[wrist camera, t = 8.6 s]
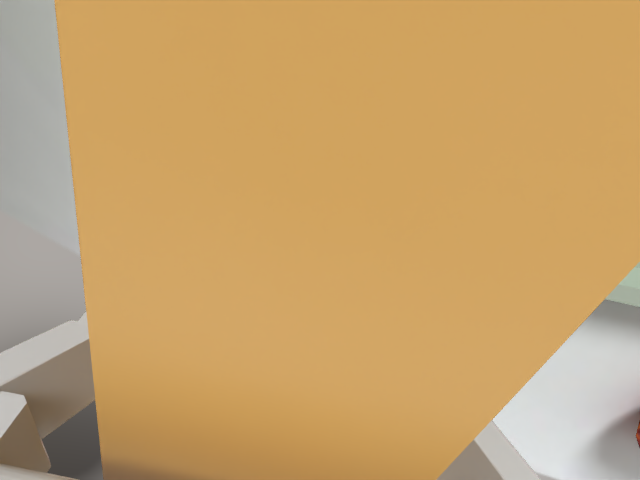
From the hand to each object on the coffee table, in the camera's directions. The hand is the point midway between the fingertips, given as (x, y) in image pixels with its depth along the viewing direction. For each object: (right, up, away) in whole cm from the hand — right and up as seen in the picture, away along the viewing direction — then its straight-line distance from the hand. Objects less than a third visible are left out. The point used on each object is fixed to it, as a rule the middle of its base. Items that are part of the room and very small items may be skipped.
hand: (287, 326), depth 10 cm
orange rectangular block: (+1, +4, 0) cm, 4 cm away
